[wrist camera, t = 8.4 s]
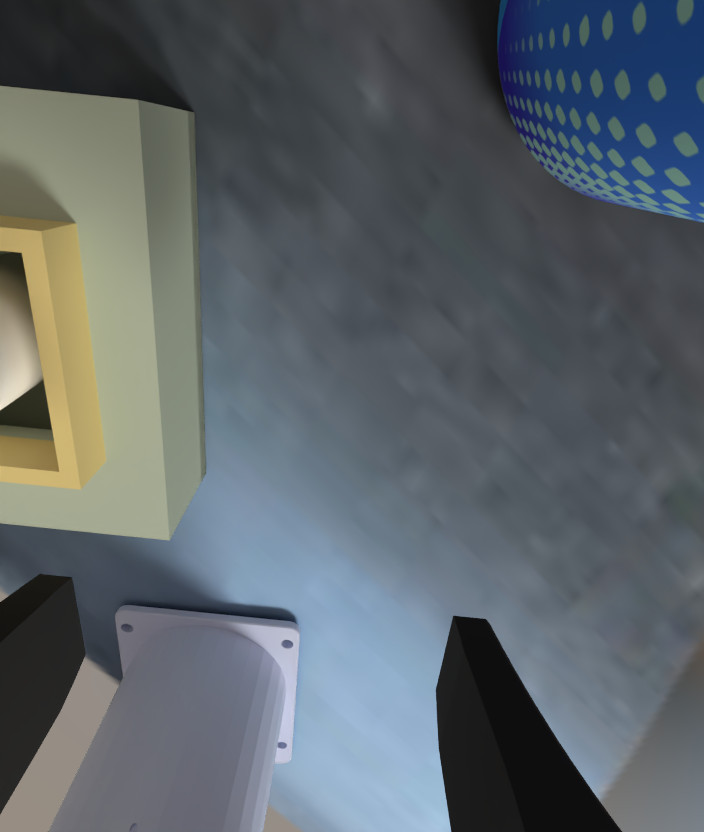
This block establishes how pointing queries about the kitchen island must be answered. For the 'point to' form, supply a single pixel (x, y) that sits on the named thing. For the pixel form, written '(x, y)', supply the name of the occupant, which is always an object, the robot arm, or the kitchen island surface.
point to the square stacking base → (103, 313)
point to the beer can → (610, 96)
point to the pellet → (16, 332)
